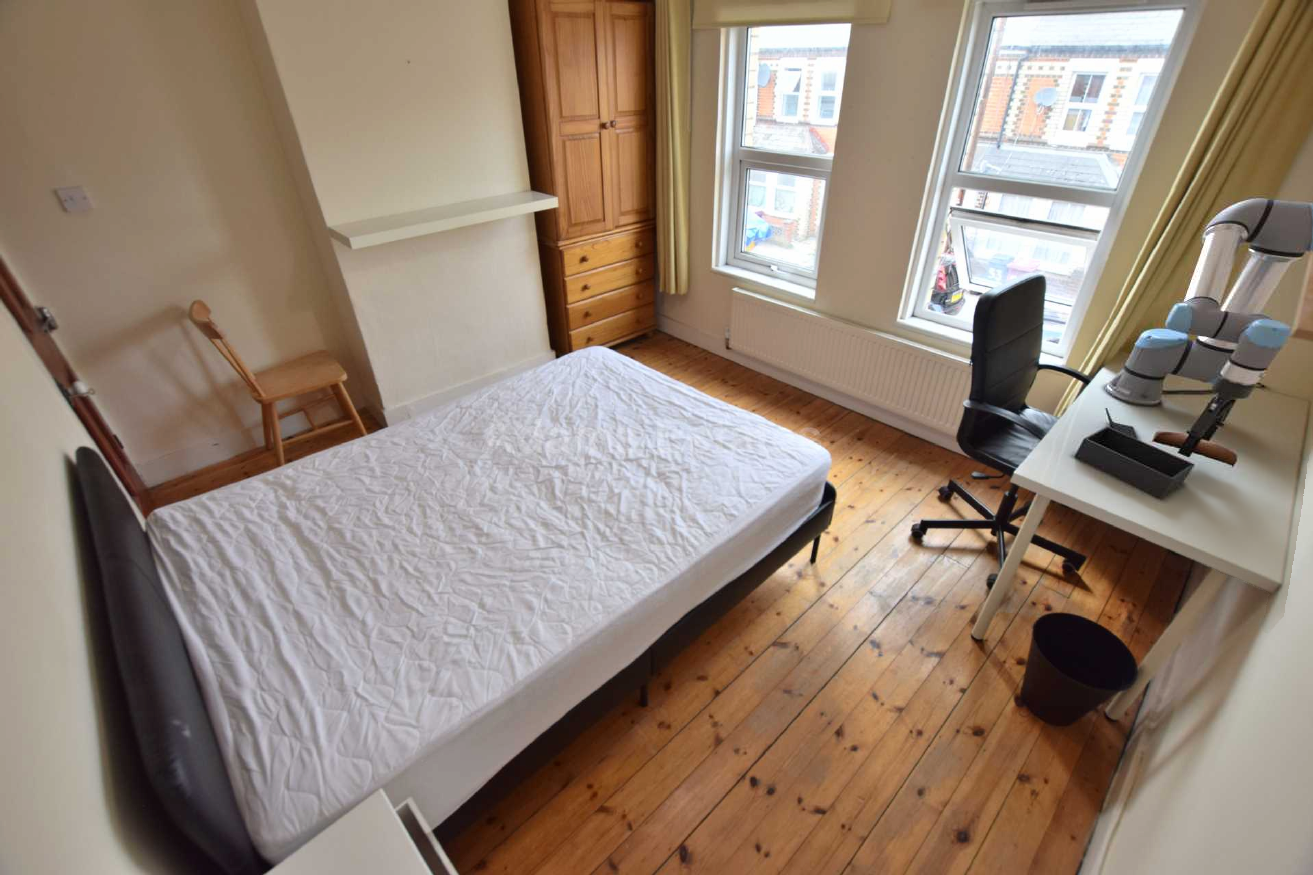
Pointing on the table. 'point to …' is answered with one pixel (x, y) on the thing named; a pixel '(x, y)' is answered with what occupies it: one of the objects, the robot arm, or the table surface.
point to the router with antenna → (1121, 427)
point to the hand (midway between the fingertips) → (1191, 449)
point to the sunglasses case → (1202, 448)
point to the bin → (1134, 461)
